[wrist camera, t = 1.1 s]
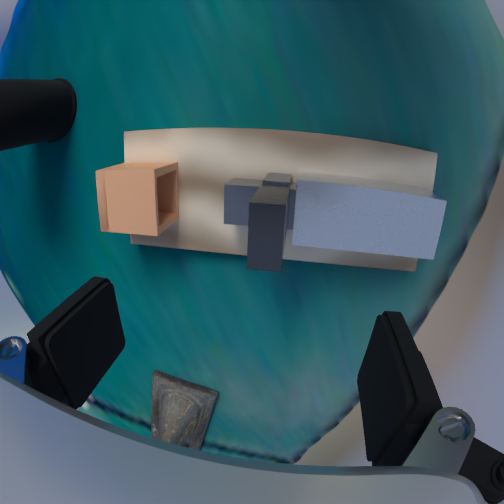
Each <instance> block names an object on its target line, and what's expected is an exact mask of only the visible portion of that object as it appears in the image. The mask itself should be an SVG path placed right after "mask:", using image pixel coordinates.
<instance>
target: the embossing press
mask: <svg viewBox="0 0 504 504" xmlns="http://www.w3.org/2000/svg"><path fill="white" fill-rule="evenodd" d="M152 382H153V387H152V416H151V420H152V421H151V438H154V439H157V440H161V441H164V442H168V443H171V444H175V445H179V446H183V447H187V448H191V449H195V450H200V449H201V445H202V442H203V439H204V436H205V434H206V430H207V427H208V424H209V421H210V418H211V415H212V412H213V409H214V406H215V403H216V400H217V397H218V393H219V392H216V391H214V390H212V389H209V388H206V387H203V386H200V385H197V384H194V383H191V382H187V381H184V380H182V379H179V378H176V377H173V376H171V375H168V374H165V373H163V372H160V371H157V370H155V371H154V373H153V381H152Z"/></svg>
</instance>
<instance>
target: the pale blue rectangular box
mask: <svg viewBox="0 0 504 504" xmlns="http://www.w3.org/2000/svg"><path fill="white" fill-rule="evenodd" d="M446 203H447V201H446V200H444V199H443V198H441V197H439V196H437V195H436V194H434V193H432V192H430V191H428V190H427V189H425V188H421V187H416V186H410V185H404V184H398V183H392V182H385V181H379V180H372V179H365V178H358V177H350V176H342V175H333V174H324V173H315V172H305V171H298V173H297V189H296V201H295V213H294V224H293V235H292V245H296V246H306V247H316V248H326V249H336V250H346V251H356V252H366V253H375V254H385V255H394V256H403V257H412V258H422V259H431V260H434V256H435V252H436V248H437V244H438V240H439V236H440V232H441V227H442V223H443V218H444V213H445V208H446Z"/></svg>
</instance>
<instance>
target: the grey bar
mask: <svg viewBox="0 0 504 504" xmlns="http://www.w3.org/2000/svg"><path fill="white" fill-rule="evenodd" d="M291 176H292V174H284V173H271V172H269V173H268V174H267V175H266V177H265V178H264V179H263V180H258V179H243V178H232V179H231V180H230V181H228V182H227V183H226V184H224V224H231V225H242V226H248V245H247V269H253V270H263V271H273V272H281V266H282V259H283V253H284V246H285V239H286V233H287V230H293V224H294V213H295V201H296V189H297V183H296V182H291Z"/></svg>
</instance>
